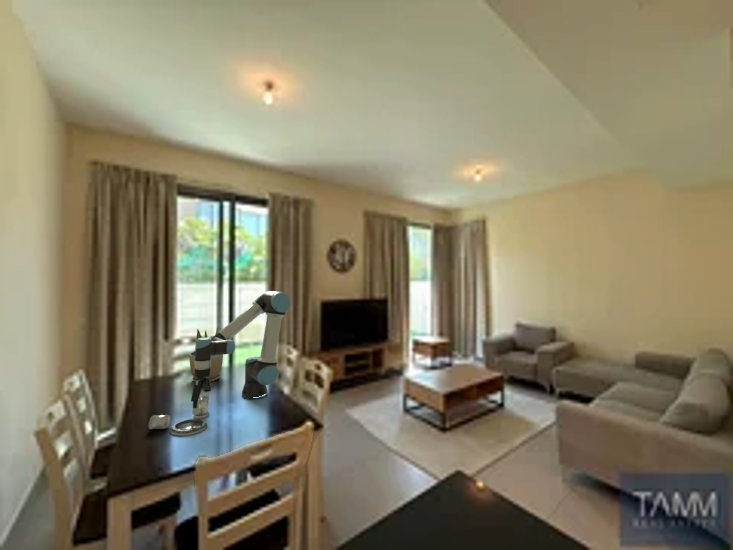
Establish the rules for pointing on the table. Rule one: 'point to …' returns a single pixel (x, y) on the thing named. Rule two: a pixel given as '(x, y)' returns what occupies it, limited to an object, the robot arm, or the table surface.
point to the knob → (202, 407)
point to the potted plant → (215, 362)
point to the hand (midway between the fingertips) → (200, 408)
